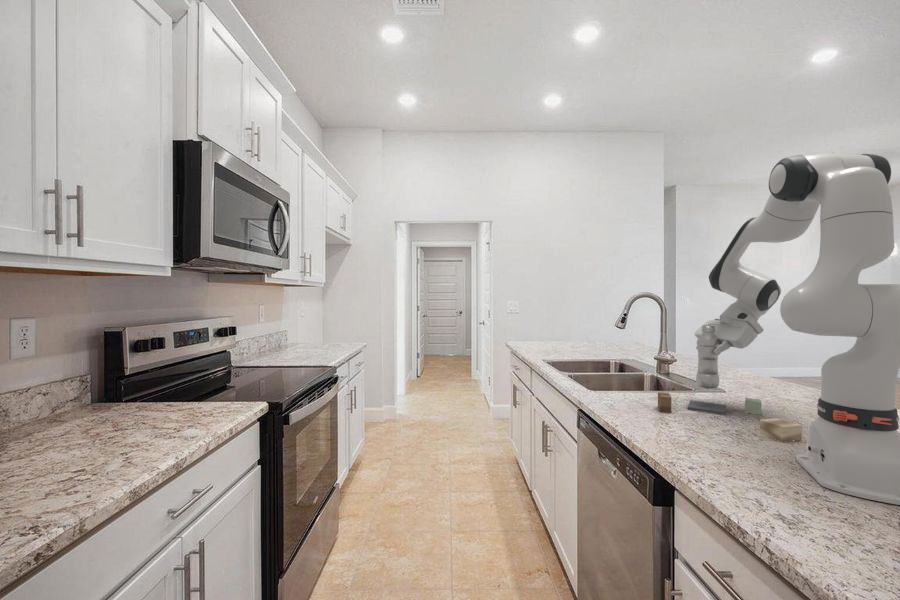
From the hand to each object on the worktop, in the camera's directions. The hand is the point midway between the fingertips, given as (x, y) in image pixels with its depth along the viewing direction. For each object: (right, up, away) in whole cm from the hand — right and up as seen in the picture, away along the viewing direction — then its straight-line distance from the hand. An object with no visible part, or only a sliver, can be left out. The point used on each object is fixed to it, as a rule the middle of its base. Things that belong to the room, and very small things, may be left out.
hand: (706, 351), depth 133 cm
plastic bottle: (+1, -12, +1) cm, 12 cm away
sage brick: (+12, -18, -4) cm, 22 cm away
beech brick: (+3, -19, -26) cm, 32 cm away
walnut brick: (-14, -18, -2) cm, 23 cm away
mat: (0, -18, 0) cm, 18 cm away
